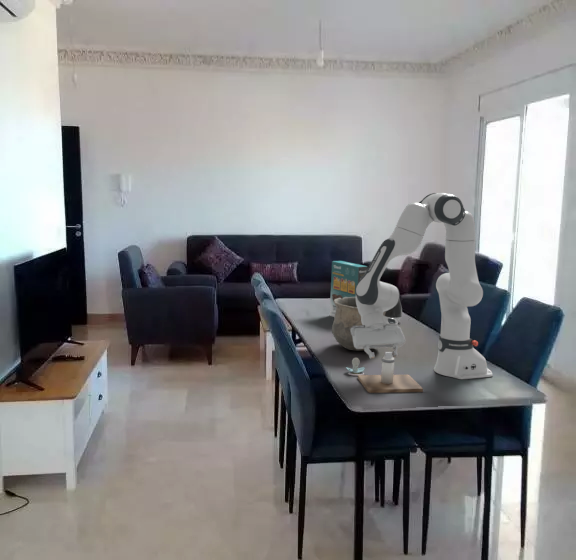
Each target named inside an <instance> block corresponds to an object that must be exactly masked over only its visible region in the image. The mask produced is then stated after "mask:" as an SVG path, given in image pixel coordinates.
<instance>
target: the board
mask: <svg viewBox="0 0 576 560" xmlns="http://www.w3.org/2000/svg"><path fill="white" fill-rule="evenodd" d="M357 379H358V381H359V382H360V383H361V385H362V386H363V388H364V389H365V390H366V391H367V393H368V394H370V393H371V394H372V393H373V394H374V393H375V394H376V393H378V394H380V393H382V394H383V393H385V394H386V393H388V394H389V393H422V392H424V388H423V387H422V386H421V385H420V384H419V383H418V382H417V381H416V380H415V379H414V378H413V377H412V376H411V375H410V374H393V383H391V384H385V383H382V382H381V374H364V375H358V376H357Z"/></svg>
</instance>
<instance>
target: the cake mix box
mask: <svg viewBox="0 0 576 560" xmlns="http://www.w3.org/2000/svg"><path fill="white" fill-rule="evenodd" d="M368 267H369V265H368V266H367V265H362V264H359V263H353V262H348V261H345V260H333V261H332V260H331V276H330V277H331V279H330V280H331V282H330V299H329V300H330V301H329V317H332V318H334V317H335V312H336V305H335V304H334V302H333V301H334V300H335V299H337V298H341V299H342V298H344V297H356V292H355V290H356V286H357V284H358V282H359V281H360V280H361V278H362V277H363V276H364V274H365V273H366V271H367V269H368Z"/></svg>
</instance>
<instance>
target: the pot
mask: <svg viewBox="0 0 576 560" xmlns="http://www.w3.org/2000/svg"><path fill="white" fill-rule="evenodd" d="M333 302H334V304H335V305H336V312H335V317H333V322H332V326H331V333H332V336H333V337H334V339H335V340H336V342H337V343H338V344H339V345H341V346H342V347H343V348H345V349H346V350H350V351H355V352H363V351H364V352H365V350H364V349H356V348H355V347H354V344H353V336H352V334H351V331H350V329H351V328H352V327H353V326H360V325H362V322H361V315H360V314H359V312H358V309H357V305H356V297H344V298H342V299H341V298H337V299H335V300H334V301H333ZM385 313H386V311H385V312H383V316H385ZM369 349H370V350H372V349H373V348H369Z"/></svg>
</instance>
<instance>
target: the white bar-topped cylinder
mask: <svg viewBox="0 0 576 560" xmlns="http://www.w3.org/2000/svg"><path fill="white" fill-rule="evenodd" d="M392 352H393V351H385V352H384V356H382V358H381V374H380V375H381V382H382V383H385V384H391V383H393V375H395V374H394V371H395V370H394V369H395V361H396V360H395V357H393V355H392Z"/></svg>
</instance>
